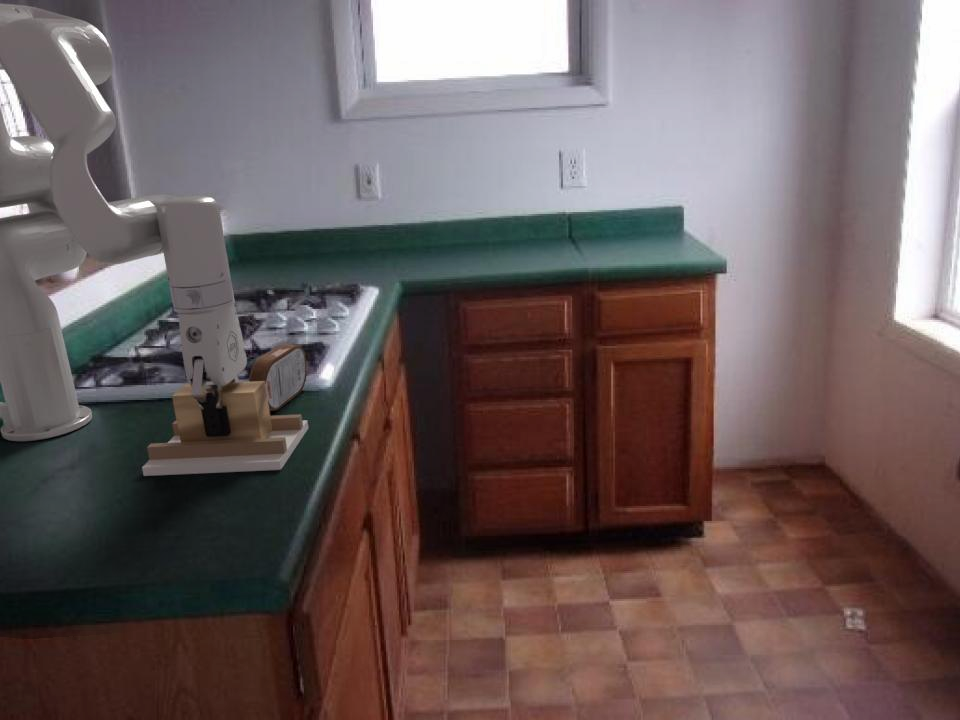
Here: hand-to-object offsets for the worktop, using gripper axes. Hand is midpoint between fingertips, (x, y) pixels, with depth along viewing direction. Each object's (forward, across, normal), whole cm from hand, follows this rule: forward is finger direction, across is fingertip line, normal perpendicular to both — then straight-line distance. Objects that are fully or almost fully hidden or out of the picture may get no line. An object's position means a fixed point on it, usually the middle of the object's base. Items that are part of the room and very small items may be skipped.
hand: (225, 426), depth 115 cm
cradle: (+4, 0, 0) cm, 4 cm away
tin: (+4, +19, -2) cm, 20 cm away
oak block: (+2, 0, 0) cm, 2 cm away
